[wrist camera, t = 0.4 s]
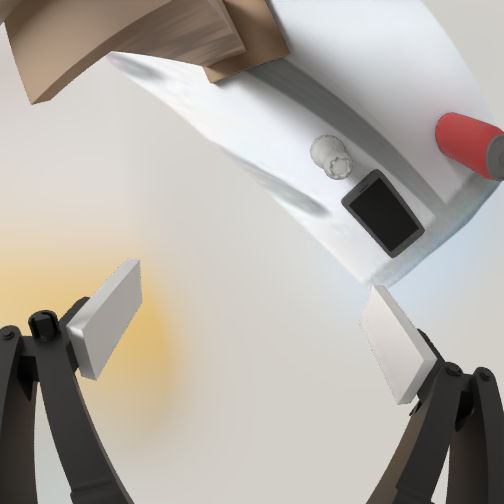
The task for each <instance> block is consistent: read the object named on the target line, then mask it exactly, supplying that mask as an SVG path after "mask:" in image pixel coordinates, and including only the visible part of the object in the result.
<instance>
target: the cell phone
mask: <svg viewBox="0 0 504 504" xmlns="http://www.w3.org/2000/svg"><path fill="white" fill-rule="evenodd" d="M341 203H342V205H343V206H344V207H345V208H346V209H347V210H348V212H349V213H350V214H351V215H352V216H353V217H354V218H355V219H356V220H357V221H358V222H359V223H360V224H361V225H362V226H363V227H364V229H365V230H366V231H367V232H368V233H369V234H370V235H371V236H372V237H373V238H374V240H375V241H376V242H377V243H378V244H379V245H380V246H381V247H382V249H383V250H384V251H385V252H386V253H387V254H388V255H389V256H390V257H391V258H394V257H396V256H397V255H399V254H400V253H401V252H402V251H404V250H405V249H406V248H407V247H408V246H409V245H411V244H412V243H413V242H414V241H415V240H417V239H418V238H419V237H420V236H421V235H422V234H423V233H424V228H423V226H422V225H421V223H420V222H419V221H418V219H417V218H416V216H415V215H414V213H413V212H412V211H411V209H410V208H409V207H408V205H407V204H406V203H405V201H404V200H403V199H402V197H401V196H400V195H399V193H398V192H397V191H396V189H395V188H394V187H393V186H392V184H391V183H390V182H389V181H388V179H387V178H386V177H385V176H384V175H383V173H382V172H381V171H379V170H378V169H375V170H373V171H372V172H371V173H370V174H369V175H367V176H366V177H365V178H364V179H363V180H362V181H361V182H360V183H359V184H358V185H356V186H355V187H354V188H353V189H352V190H351V191H350V192H349V193H348V194H347V195H345V196H344V198H343V199H342V201H341Z"/></svg>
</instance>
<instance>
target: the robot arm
mask: <svg viewBox="0 0 504 504" xmlns="http://www.w3.org/2000/svg"><path fill="white" fill-rule="evenodd" d="M141 304H142V293H141V276H140V260H137V259H129V258H128V259H126V260H125V261H124V262H123V263H122V264H121V265H120V267H118V269H117V270H116V271H115V272H114V273H113V274H112V275H111V276H110V277H109V278H108V279H107V280H106V281H105V283H103V285H102V286H101V287H100V288H99V289H98V290H97V291H96V292H95V293H94V294H93V296H92V297H91V298H90V297H83V298H82V299H80V300H78V301H77V302H76V303H75V304H74V305H73V306H72V308H70V309H69V310H68V311H67V313H66V314H65V315H64V316H63V317H62V318H61V319H60V320H59V321H58V319H57V315H56V314H55V313H54V312H53V311H49V310H42V311H38V312H36V313H34V314H33V315H31V317H30V318H29V320H28V324H29V327H30V329H31V333H32V336H22V335H21V332H20V330H19V328H18V327H16V326H12V325H9V326H5V327H3V328H1V329H0V504H38V502H37V492H36V481H35V464H34V424H35V406H36V393H37V384H38V382H40V386H41V391H42V396H43V401H44V405H45V410H46V414H47V418H48V422H49V425H50V429H51V432H52V436H53V439H54V443H55V446H56V449H57V452H58V455H59V458H60V461H61V464H62V467H63V469H64V472H65V474H66V477H67V480H68V482H69V485H70V487H71V491H72V492H71V494H70V496H71V500H72V502H73V504H134V502H133V501H132V499H131V497H130V496H129V494H128V492H127V491H126V489H125V487H124V485H123V484H122V482H121V480H120V479H119V477H118V475H117V473H116V471H115V469H114V467H113V466H112V463H111V461H110V459H109V457H108V455H107V453H106V451H105V449H104V447H103V445H102V443H101V440H100V438H99V436H98V434H97V432H96V430H95V427H94V424H93V422H92V420H91V417H90V415H89V412H88V410H87V407H86V404H85V402H84V399H83V396H82V393H81V391H80V387H79V385H78V382H77V379H76V376H75V371H76V370H77V368H78V367H79V370H80V373H81V376H82V377H86V378H89V379H93V380H97V379H98V377H99V375H100V373H101V371H102V370H103V368H104V366H105V364H106V363H107V361H108V359H109V357H110V356H111V354H112V352H113V350H114V348H115V347H116V345H117V344H118V342H119V340H120V338H121V336H122V335H123V333H124V332H125V330H126V328H127V327H128V325H129V323H130V322H131V320H132V318H133V317H134V315H135V313H136V312H137V310H138V309H139V307H140V305H141ZM360 326H361V328H362V330H363V332H364V334H365V336H366V338H367V340H368V342H369V344H370V346H371V348H372V351H373V353H374V355H375V357H376V359H377V361H378V363H379V365H380V367H381V369H382V372H383V374H384V375H385V378H386V380H387V383H388V385H389V387H390V389H391V391H392V394H393V396H394V398H395V400H396V402H397V405H399V404H407V403H411V402H412V400H413V399H414V397H415V396H416V394H417V396H418V398H419V401H418V403H417V404H416V406H415V407H414V409H413V410H412V411H411V413H410V414H409V415H410V416H411V415H412V416H411V419H410V421H409V423H408V425H407V428H406V430H405V432H404V434H403V437H402V439H401V441H400V443H399V445H398V447H397V449H396V451H395V454H394V455H393V457H392V459H391V461H390V463H389V465H388V467H387V469H386V471H385V472H384V474H383V476H382V478H381V480H380V481H379V483H378V485H377V487H376V488H375V490H374V492H373V493H372V495H371V496H370V498H369V500H368V501H367V503H366V504H435V503H433V502H431V498H432V495H433V493H434V490H435V487H436V485H437V482H438V479H439V476H440V473H441V470H442V468H443V464H444V461H445V458H446V455H447V451H448V448H449V444H450V455H449V475H448V487H447V497H446V504H504V411H503V407H502V402H501V398H500V394H499V390H498V386H497V382H496V379H495V376H494V374H493V373H492V372H491V371H490V370H489V369H487V368H484V367H478V368H477V369H476V370H475V371H474V373H473V375H470V374H464V373H463V372H462V370H461V368H460V367H459V366H458V365H456V364H454V363H451V362H445V360H444V359H443V358H442V356H441V355H440V353H439V352H438V350H437V349H436V348H435V347H434V345H433V343H432V342H430V339H429V338H428V336H427V335H426V334H425V333H424V332H422V331H421V330H420V329H416V328H415V326H414V325H413V324H412V322H411V321H410V319H409V318H408V317H407V315H406V314H405V313H404V311H403V310H402V309H401V308H400V306H399V305H398V303H397V302H396V301H395V300H394V298H393V297H392V296H391V294H390V293H389V292H388V290H387V289H386V288H385V287H384V286H382V285H372V288H371V291H370V294H369V298H368V301H367V304H366V307H365V310H364V313H363V316H362V319H361V322H360Z"/></svg>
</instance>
